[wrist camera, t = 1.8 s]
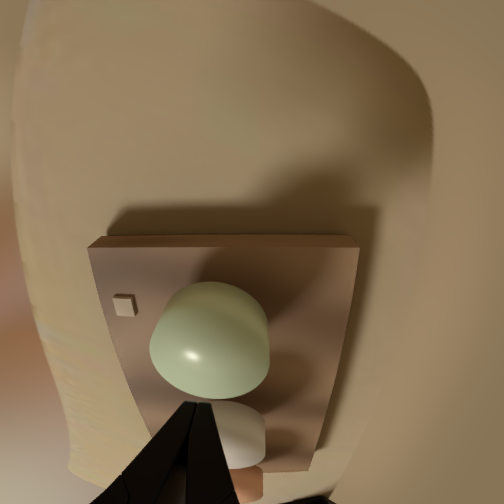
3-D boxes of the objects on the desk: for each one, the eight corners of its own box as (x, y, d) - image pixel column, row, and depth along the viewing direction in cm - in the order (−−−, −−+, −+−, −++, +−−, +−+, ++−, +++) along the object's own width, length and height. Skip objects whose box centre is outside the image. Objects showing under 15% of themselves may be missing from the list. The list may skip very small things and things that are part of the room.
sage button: (267, 366, 13) (267, 400, 11) (172, 363, 13) (161, 394, 11) (269, 281, 11) (271, 312, 9) (155, 280, 11) (138, 308, 10)
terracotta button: (262, 482, 19) (262, 503, 17) (206, 480, 19) (203, 500, 17) (263, 460, 17) (263, 484, 15) (198, 457, 17) (194, 481, 15)
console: (306, 456, 21) (308, 472, 20) (168, 451, 22) (165, 466, 20) (350, 235, 14) (361, 249, 12) (101, 236, 14) (85, 249, 12)
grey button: (264, 443, 16) (264, 469, 14) (192, 439, 16) (188, 465, 14) (266, 401, 14) (266, 432, 12) (180, 397, 14) (173, 427, 12)
